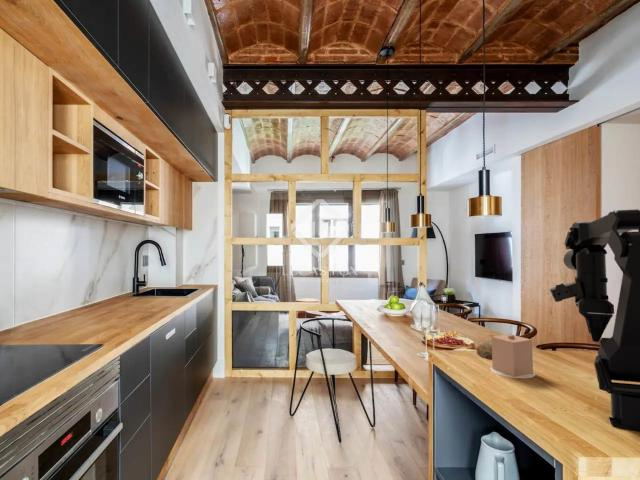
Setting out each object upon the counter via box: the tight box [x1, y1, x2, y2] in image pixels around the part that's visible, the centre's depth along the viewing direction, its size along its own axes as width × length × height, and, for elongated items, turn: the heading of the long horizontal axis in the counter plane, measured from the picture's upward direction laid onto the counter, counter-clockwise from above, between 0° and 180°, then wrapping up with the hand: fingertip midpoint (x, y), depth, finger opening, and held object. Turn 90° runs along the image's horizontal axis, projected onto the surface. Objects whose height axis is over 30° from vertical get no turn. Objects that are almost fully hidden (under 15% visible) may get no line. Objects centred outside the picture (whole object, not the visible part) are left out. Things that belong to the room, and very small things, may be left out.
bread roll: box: [476, 338, 492, 360], centre depth 112 cm, size 10×10×8 cm
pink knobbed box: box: [491, 333, 534, 377], centre depth 97 cm, size 7×7×10 cm
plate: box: [490, 366, 537, 379], centre depth 97 cm, size 11×11×1 cm
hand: (593, 337), depth 85 cm, fingers open, 9 cm apart
